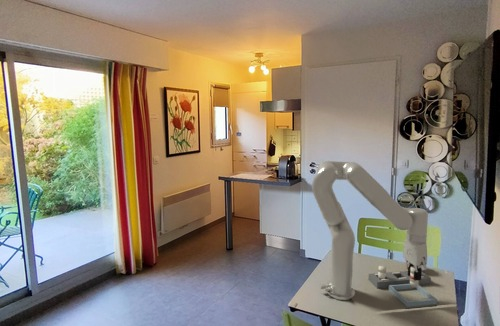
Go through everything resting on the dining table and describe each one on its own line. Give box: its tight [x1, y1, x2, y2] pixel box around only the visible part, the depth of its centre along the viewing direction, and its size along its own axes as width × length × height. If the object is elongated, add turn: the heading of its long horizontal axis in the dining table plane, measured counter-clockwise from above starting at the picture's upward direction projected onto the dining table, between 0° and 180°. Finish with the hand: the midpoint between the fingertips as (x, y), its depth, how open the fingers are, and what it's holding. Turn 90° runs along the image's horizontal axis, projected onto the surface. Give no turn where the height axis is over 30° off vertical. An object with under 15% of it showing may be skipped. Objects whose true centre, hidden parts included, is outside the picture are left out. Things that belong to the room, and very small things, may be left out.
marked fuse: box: [410, 266, 419, 287], centre depth 140 cm, size 3×3×8 cm
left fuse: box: [377, 265, 387, 280], centre depth 152 cm, size 3×3×8 cm
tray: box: [388, 284, 438, 310], centre depth 141 cm, size 14×14×3 cm
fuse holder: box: [367, 270, 432, 289], centre depth 153 cm, size 27×8×4 cm, turn 98°
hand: (414, 277), depth 140 cm, fingers closed on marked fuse, 3 cm apart
